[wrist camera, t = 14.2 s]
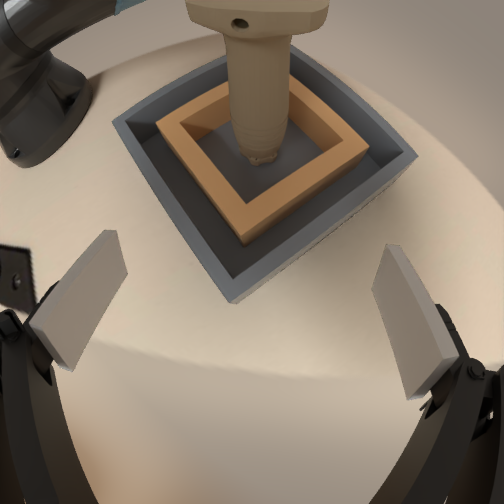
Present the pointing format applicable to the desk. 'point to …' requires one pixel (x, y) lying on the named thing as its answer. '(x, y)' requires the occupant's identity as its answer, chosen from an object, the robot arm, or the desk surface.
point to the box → (260, 169)
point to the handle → (259, 63)
